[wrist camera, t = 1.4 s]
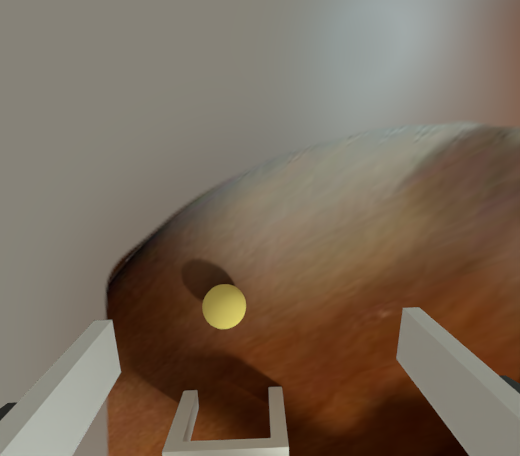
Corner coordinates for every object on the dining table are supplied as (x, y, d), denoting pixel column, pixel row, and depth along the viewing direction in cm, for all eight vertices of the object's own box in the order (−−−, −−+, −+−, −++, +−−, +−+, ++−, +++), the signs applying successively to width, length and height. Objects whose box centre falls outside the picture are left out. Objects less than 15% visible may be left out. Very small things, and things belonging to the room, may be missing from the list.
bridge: (282, 404, 41) (289, 468, 32) (185, 408, 41) (164, 473, 32) (281, 386, 40) (288, 447, 31) (183, 390, 40) (162, 452, 31)
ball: (247, 314, 38) (246, 337, 33) (208, 316, 38) (199, 339, 33) (245, 276, 37) (243, 293, 32) (205, 278, 37) (196, 295, 32)
